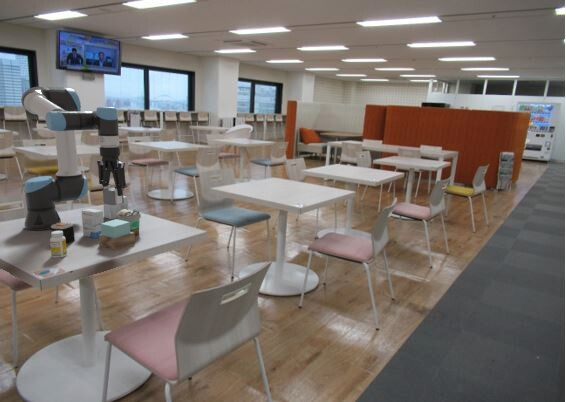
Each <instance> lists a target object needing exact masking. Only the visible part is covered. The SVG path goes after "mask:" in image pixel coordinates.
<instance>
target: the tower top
mask: <svg viewBox="0 0 566 402" xmlns="http://www.w3.org/2000/svg"><path fill="white" fill-rule="evenodd" d="M101 234H102V235H103V236H107V237H111V238H118V237H121V236H124V235H127V234H130V222H127V221H123V220H118V219H116V218H114V219H111V220H108V221H105V222H104V223H101Z"/></svg>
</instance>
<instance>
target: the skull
mask: <svg viewBox="0 0 566 402" xmlns="http://www.w3.org/2000/svg"><path fill="white" fill-rule="evenodd" d="M130 213H132V212H131V211H130V210H129V209H128V210H126V209H123V210H121V211H119V212H118V213H117V215H116V218H115V219H118V220H119V216H125V215H126V214H130Z"/></svg>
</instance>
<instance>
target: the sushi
mask: <svg viewBox="0 0 566 402" xmlns="http://www.w3.org/2000/svg"><path fill="white" fill-rule="evenodd" d="M74 228H75V227H74V223H71V222H61V223H56V224H54V225H52V226H51V229H50V232H53V231H63V236H64V237H65V238H66V245H67V244H71V243H73V242H75V241H76V240H75V238H76V237H75V229H74Z"/></svg>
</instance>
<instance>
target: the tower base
mask: <svg viewBox="0 0 566 402" xmlns="http://www.w3.org/2000/svg"><path fill="white" fill-rule="evenodd" d="M133 244H136V236H135V233H134V232H130V234H127V235H124V236H121V237H118V238H111V237H107V236H103V235H102V234H100V235H99V237H98V245H99V246H100V247H104V248H108V249H112V250H114V251H118V250H120V249H122V248H126V247H128V246H130V245H133Z"/></svg>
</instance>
